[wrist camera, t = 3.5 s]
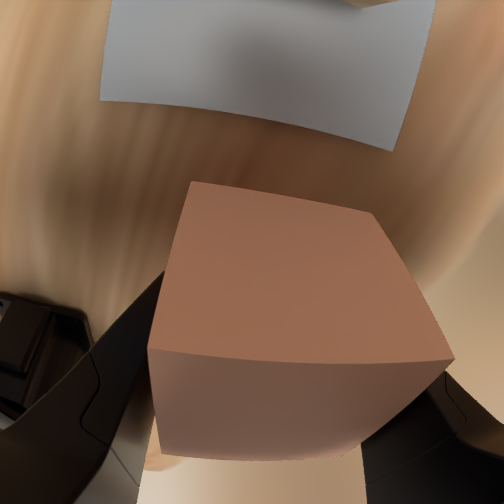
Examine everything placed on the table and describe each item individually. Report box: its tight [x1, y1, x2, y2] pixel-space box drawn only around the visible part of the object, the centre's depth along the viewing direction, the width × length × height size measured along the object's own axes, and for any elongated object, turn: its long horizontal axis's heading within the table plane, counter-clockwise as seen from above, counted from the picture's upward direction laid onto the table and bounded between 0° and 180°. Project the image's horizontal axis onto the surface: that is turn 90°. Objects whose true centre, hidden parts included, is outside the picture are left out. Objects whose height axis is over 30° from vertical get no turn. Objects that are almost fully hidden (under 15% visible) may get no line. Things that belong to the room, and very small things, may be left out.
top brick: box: [147, 181, 455, 461], centre depth 8 cm, size 5×5×5 cm
